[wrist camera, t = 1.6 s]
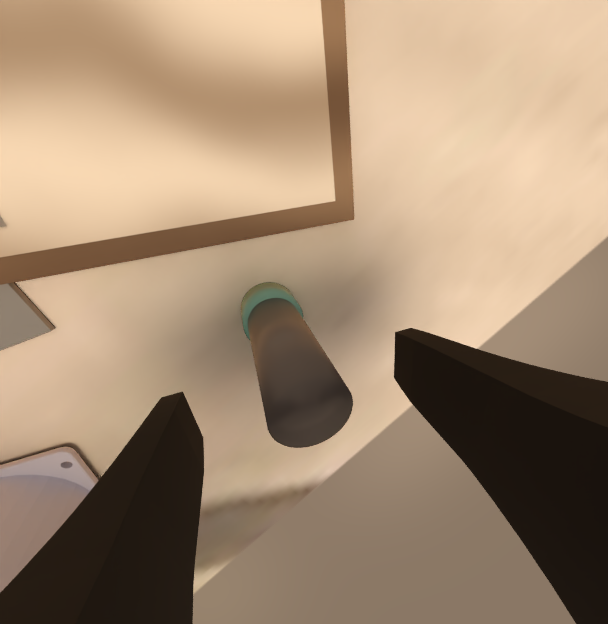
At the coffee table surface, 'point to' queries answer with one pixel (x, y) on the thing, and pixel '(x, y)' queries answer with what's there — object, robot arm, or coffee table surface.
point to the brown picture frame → (167, 127)
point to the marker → (292, 370)
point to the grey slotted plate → (19, 317)
